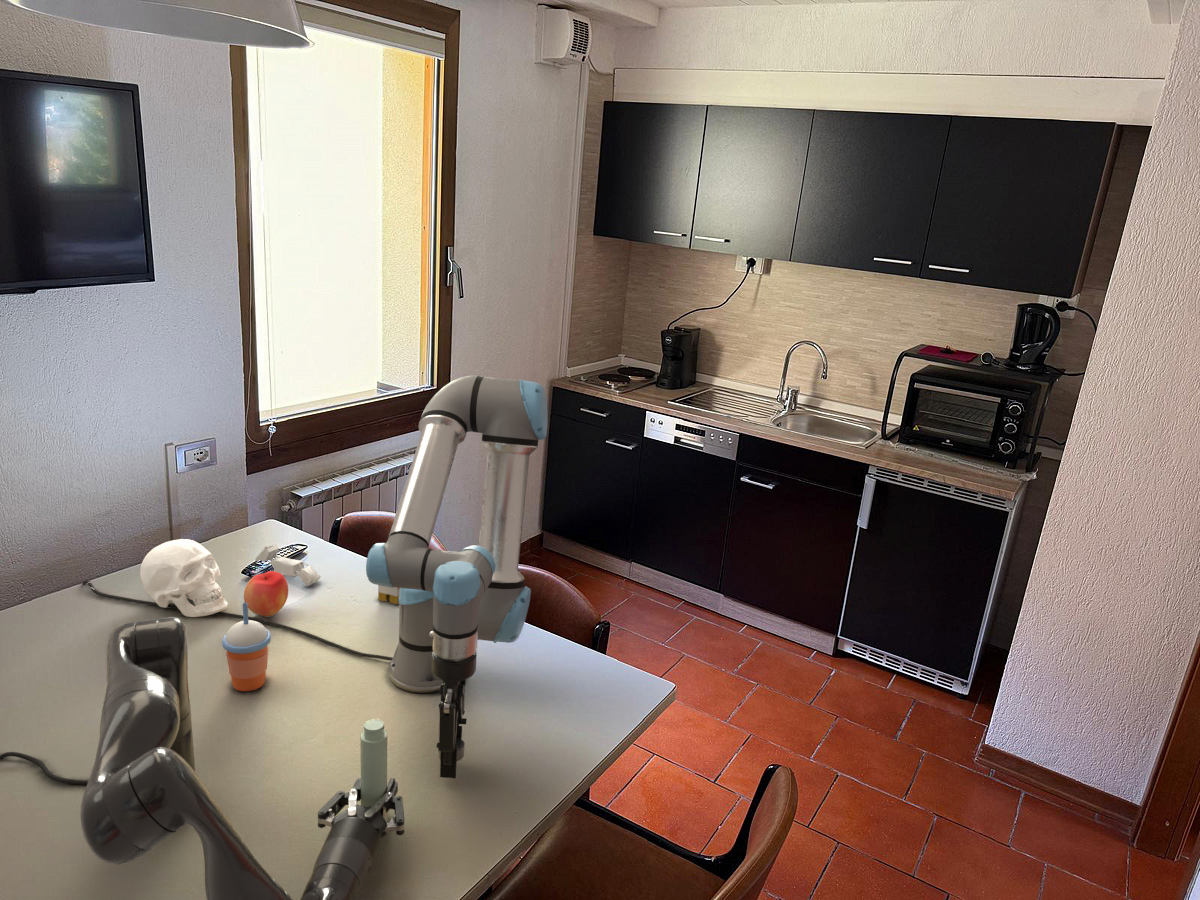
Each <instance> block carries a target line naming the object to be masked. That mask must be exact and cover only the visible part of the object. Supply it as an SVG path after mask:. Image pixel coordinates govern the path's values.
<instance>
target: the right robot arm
mask: <svg viewBox="0 0 1200 900" xmlns="http://www.w3.org/2000/svg"><path fill="white" fill-rule="evenodd" d="M548 412H549V411H548V402H547V395H546V390H545V388H544V386H543V385H542V384H540V383H539V382H535V381H529V380H524V379H514V378H502V377H491V376H480V375H474V374H473V375H465V376H462V377H459V378H455V379H453V380H452V381H450V382H448V383H447V384H445V385H444V386H443V387H442V388H441V389H439V390H438V391H437V392H436V393H435V394H434V395H433V396H432V398H431V399H430V400H429V401H428V403H427V404H426V406H425V408H424V410H423V412H422V414H421V416H420V419H419V422H418V431H419V433H420V437H419V440H418V442H417V446H416V449H415V452H414V456H413V458H412V462H411V464H410V468H409V471H408V475H407V477H406V481H405V484H404V487H403V490H402V493H401V497H400V500H399V502H398V506H397V509H396V512H395V516H394V519H393V522H392V525H391V528H390V530H389V534H388V539H387V540H386V542H387V543H386V542H376V543H375V544H373V545H372V546H371V548H370V549H369V550H368V554H367V556H366V557H367V558H366V564H365V572H366V577H367V578H368V579H367V580H368V581H369V582H370V583H371V584H373V585H377V586H378V585H381V586H386V587H391V588H394V587H396V588H400V596H399V598H398V602H399V603H398V643H397V645H396V648H395V651H394V653H393V656H386V655H380V654H372V653H365V652H361V651H358V650H354V649H352V648H348V647H345V646H343V645H341V644H338V643H335V642H332V641H330V640H328V639H325V638H323V637H320V636H318V635H315V634H312V633H309V632H306V631H304V630H301V629H298V628H294V627H291V626H288V625H285V624H281V623H277V622H274V621H270V620H266V619H262V618H257V617H252V616H248V620H253V621H257V622H259V623H261V624H266V625H271V626H274V627H278V628H281V629H284V630H288V631H291V632H294V633H297V634H299V635H303V636H304V637H305V636H306V637H308V638H311V639H313V640H316V641H319V642H320V643H323V644H326V645H328V646H331V647H334V648H336V649H339V650H341V651H344V652H347V653H349V654H352V655H355V656H360V657H364V658H371V659H379V660H385V661H390V666H389V679H390V681H391V682H392V683H393V684H394V685H395V686H396V687H398V688H399V689H401V690H404V691H407V692H410V693H416V694H430V693H431V694H432V693H438V692H439V695H440V701H439V704H438V709H439V710H438V711H439V724H438V725H439V726H438V742H437V743H436V745H435V748H437V750H438V749H439V751H441V758H440V759H439V763H440V765H439V778H442V779H443V778H445V779H456V777H457V764H458V762H457V744H456V737H458V738H460V739H462V738H463V725H467V720H468V719H467V718H466V717H465V718H464V717H463V716H464V715H465V712H466V711H465V702H466V701H465V700H466V684H467V679H469V678H471V677H473V676H474V674H475V673H476V671H477V656H478V655H477V650H478V640H479V641H487V642H493V643H495V644H496V643H507V644H508V643H515V642H516V641H517V640H518V639H519V637H520V635H521V633H522V631H523V628H524V626H525V622H526V618H527V615H528V611H529V606H530V603H531V602H530V601H531V595H532V590H531V588H530V587H528V586H525V576H524V575H523V574H522V573H521V571H520V570H519V563H520V556H521V555H520V554H521V553H520V552H521V544H522V535H523V534H522V533H523V525H524V514H525V506H526V505H525V504H526V494H527V485H528V475H529V474H528V473H529V463H530V456H531V454H533V452H534V451H535V450H537V449H538V448H539V440H540V441H542V440H545V439H546V437H547V435H548V423H549V418H548V417H549V416H548ZM470 432H471V433H479V434H481V443H482V445H483V446H484V448H486V450H487V456H486V457H487V458H486V468H485V477H484V478H485V479H484V489H483V499H482V507H481V508H482V509H481V519H480V527H479V538H478V545H475V544H474V545H468V546H466V547H464V548H463V549H461V550H460V551H451V550H445V549H443V550H442V549H434V548H430V544H431V541H432V537H433V533H434V531H435V526H436V523H437V520H438V516H439V512H440V509H441V505H442V502H443V499H444V494H445V491H446V488H447V485H448V481H449V478H450V474H451V472H452V471H451V470H452V466H453V463H454V459H455V456H456V453H457V449H458V446H459V445H460V444H462V443H463V442H464V441H465V439H466V436H467V433H470ZM88 582H91V580H88V579H86V580H84V581H83V582H82V585H86V584H85V583H88ZM87 585H88V587H89V586H90V587H93V588H95V587H94V585H93V583H92V582H91V583H88V584H87ZM90 587H89V588H90ZM90 590H91V591H92V592H93V593H94V594H96V595H98V596H100V597H105V598H108V599H114V600H120V601H124V602H130V603H136V604H142V605H148V606H154V607H160V606H159V605H158V604H157V603H156V602H155V601H147V600H142V599H136V598H130V597H124V596H119V595H114V594H108V593H104V592H101V591H99V590H98V589H96V588H95V590H93V589H91V588H90ZM166 608H168V609H175V610H179V608H178V607H177V606H176V605H175V604H168V606H167V607H166ZM213 615H219V616H224V617H225V616H226V617H231V618H237V619H241V620H243V614H237V613H231V612H224V611H220V612H217V613H214V614H213ZM462 740H463V739H462Z"/></svg>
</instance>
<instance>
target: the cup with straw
mask: <svg viewBox="0 0 1200 900" xmlns="http://www.w3.org/2000/svg"><path fill="white" fill-rule="evenodd" d="M242 615H243V619H242V620H240V621H238V622H236V623H234V624H233V625H232V626H230V627H229V629H228V630H227V632H226V633H225V634H224V635H223V637H222V640H221V645H222V647H223V649H224V650H225V656H226V661H227V667H228V673H229V675H230V679H231V684H232V687H233V688H234V690H236V691H240V692H250V691H251V692H252V691H255V690H258V689H259V688H261V687H262V686H263V685H264V684H265V682H266V675H267V669H268V660H269V644H270V643H271V641H272V634H271V632H270V631H269V630H268V629H267V628H266V627H265V626H264V625H263V623H261V622H257V621H253V620H248V617H249V609H248V605H247V603H245V602H243V603H242Z"/></svg>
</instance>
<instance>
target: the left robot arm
mask: <svg viewBox="0 0 1200 900" xmlns="http://www.w3.org/2000/svg"><path fill="white" fill-rule="evenodd" d="M106 649H107V650H106V689H105V696H104V701H103V705H102V709H101V716H100V723H99V738H98V744H97V749H96V753H95V759H94V763H93V765H92V770H91V773H90V775H89V778H88V779H73V778H67V777H63V776H59V775H56V774H55V773H52V772H51V771H50V770H49V768H48V767H47V766H46V764H45V763H44V761H42V760H41V759H39V758H37V757H34V756H31V755H29V754H26V753H22V752H18V751H7V752H3V753H1V754H0V760H3V759H4V758H7V757H15V758H19V759H23V760H25V761H29V762H32V763H34V764H35V765H37V766H38V767H39V768H41V770H42V772H43V773H44V774H45V775H46V777H48V778H49V779H51V780H53V781H56V782H59V783H63V784H69V785H79V786H81V785H82V786H85V785H86V787H85V789H84V792H83V795H82V799H81V804H80V815H79V816H80V827H81V830H82V835H83V837H84V840H85V842H86V844H87V845H88V847H89V849H90V851H91V852H92V853H93V854H94V855H95V857H97V858H98V859H99V860H101V861H102V862H104V863H107V864H110V865H116V866H118V865H125V864H127V863H130V862H133V861H134V860H137V859H139V858H141V857H143V856H144V855H145V854H147V853H148V852H149V851H151V850H152V849H154V848H155V847H156V846H158V845H160V844H162V842H163V841H165V840H167V839H168V838H169V837H170V836H172V835H173V834H175V833H176V832H177V831H179V830H180V829H182V828H184V826H186V825H189V826H191V827H192V828H193V829H194V832H196V834H197V835H198V837H199V839H200V842H201V846H202V851H203V860H204V886H205V888H204V889H205V896H206V900H294V899H293V898H292V897H291V895H290V894H289V893H288V892H287V891H286V890H285V889H284V888H283V887H282V886H281V885H280V884H279V883H278V882H277V880H275V879H274V878H273V876H272V875H271V874H270V873H269V872H268V871H267V869H265V868H263V867H264V866H262V865H261V863H260V862H259V861H258V860H257V859H256V858H255V856H254V855H253V854H252V853H251V850H249V848H248V846H247V845H246V843H245V842H244V840H243V839H242V837H241V836H240V834H239V833H238V831H237V829H236V828H235V827H234V825H233V824H232V822H231V821H230V819H229V817H228V816H227V814H226V813H225V812H224V810H223V809H222V807H221V806H220V805H219V803H218V802H217V800H216V798H215V797H214V796H213V795H212V793H211V791H210V790H209V789H208V787H207V786H206V784H205V783H204V782H203V780H202V779H201V777H199V775H198V773H197V772H196V764H195V762H196V761H195V751H194V750H195V749H194V738H193V723H192V722H193V721H192V711H191V699H190V690H189V675H188V673H189V672H188V669H189V668H188V667H189V666H188V665H189V664H188V663H189V662H188V660H189V657H188V655H189V654H188V635H187V629H186V626H185V623H184V622H183V621H182V619H180V618H179V617H176V616H169V617H162V618H153V619H147V620H139V621H136V622H135V621H133V622H127V623H124V624H121V625H119V626H116V627H115V628H114V629H113V630H112V632H111V633H110V636H109V638H108V642H107V648H106ZM398 791H399V783H398V781H396V778H395V777H390V779H389V781H388V782H387V788H386V791H385V795H384V796H383V797H382V798H381V799H380V800H379V799H378V800H377V801H376V802H375V804H374V805H373V806H362V805H361V804H358V802H361V777H358V778H357V779H356V780H355V782H354V784H353V786H352V787H351V789H350V790H349V791H348V792H345V791H344V790H338V791H337V792H336V793H335V794H334V795H333V796H332V797H331V798H330V799H329V800H328V801H327V802H326V803H325V804H324V805H323V806H322V807H321V808H319V810H318V811H317V827H318V828H319V829H323V828H325V827H326V826H327V827H329V828H330V830H329V832H328V834H327V836H326V838H325V840H324V843H323V845H322V847H321V849H320V851H319V853H318V856H317V857H316V859H315V862H314V864H313V868H312V873H311V874H310V877H309V879H308V881H307V883H306V885H305V888H304V889H303V892H302V894H301V895H300V896H301V897H300V899H299V900H356V899H357V896H358V893H359V891H360V889H361V888H362V887H363V885H364V882H365V881H366V878H367V876H368V874H369V873H370V870H371V865H372V863H373V860H374V857H375V855H376V852H377V850H378V847H379V845H380V842H381V840H382V839H383V837H385V836H386V834H387V833H392V832H395V834H396V835H397V836H403V835H404V834H405V811H404V801H403V800H404V799H403V796H401V795H397V794H398ZM346 806H347V807H348V808H347V809H345V810H344V811H342V810H343V809H344V808H345V807H346ZM391 810H393V811H394V814H393V815H392V817H391V818H390V821H389V822H387V823H386V821H385V818H386V815H387V816H388V813H389V812H391ZM341 811H342V812H341ZM340 812H341V813H340Z"/></svg>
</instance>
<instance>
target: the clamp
mask: <svg viewBox="0 0 1200 900" xmlns="http://www.w3.org/2000/svg"><path fill="white" fill-rule="evenodd" d="M280 549H281V547H279V546H278V545H277V544H272V545H266V546H264V547H263V549H262V550H261V551H260V552H259V554H258V555H257V556H256V557H255V559H254V562H255V563H256V561H259V560H262V561H268V560H271V562H270V563H269V564H271V565H272V566H273V568H274V571H275V572H278V573H281V574H282V575H283V576H288V577H292V578H296V577H298V578H299V579H300V580H301V582H303V584H304V585H305V587H309V586H312V585H314V584H316V583H318V582H319V580H320V579H321V578H322V577H321V575H320V574H319V573H318V572H317V570H315V569H314V568H313V566H312V565H310V564H309V565H308V564H307V563H305V562H304V561H303V560H301V559H300V560H299V559H292V558H289V557H285V556H278V553H279V551H280ZM273 558H274V559H273ZM272 559H273V560H272ZM305 566H306V567H305ZM270 571H271V570H270Z"/></svg>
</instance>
